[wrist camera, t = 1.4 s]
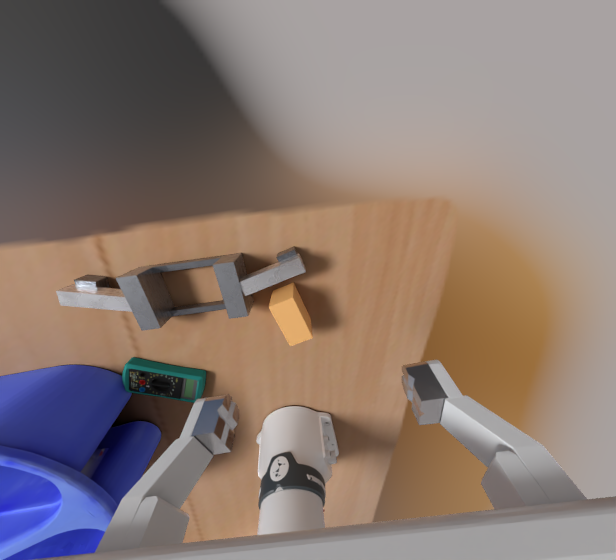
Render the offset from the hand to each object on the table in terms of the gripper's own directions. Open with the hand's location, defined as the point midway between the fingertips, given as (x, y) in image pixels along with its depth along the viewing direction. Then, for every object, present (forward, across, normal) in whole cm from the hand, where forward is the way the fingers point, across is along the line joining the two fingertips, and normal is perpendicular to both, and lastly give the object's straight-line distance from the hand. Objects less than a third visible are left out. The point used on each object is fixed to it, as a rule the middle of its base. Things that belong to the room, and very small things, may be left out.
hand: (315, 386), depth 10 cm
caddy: (+21, -60, -29) cm, 70 cm away
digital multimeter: (+23, -34, -24) cm, 48 cm away
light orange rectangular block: (+26, -5, -14) cm, 30 cm away
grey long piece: (+26, -20, -6) cm, 33 cm away
